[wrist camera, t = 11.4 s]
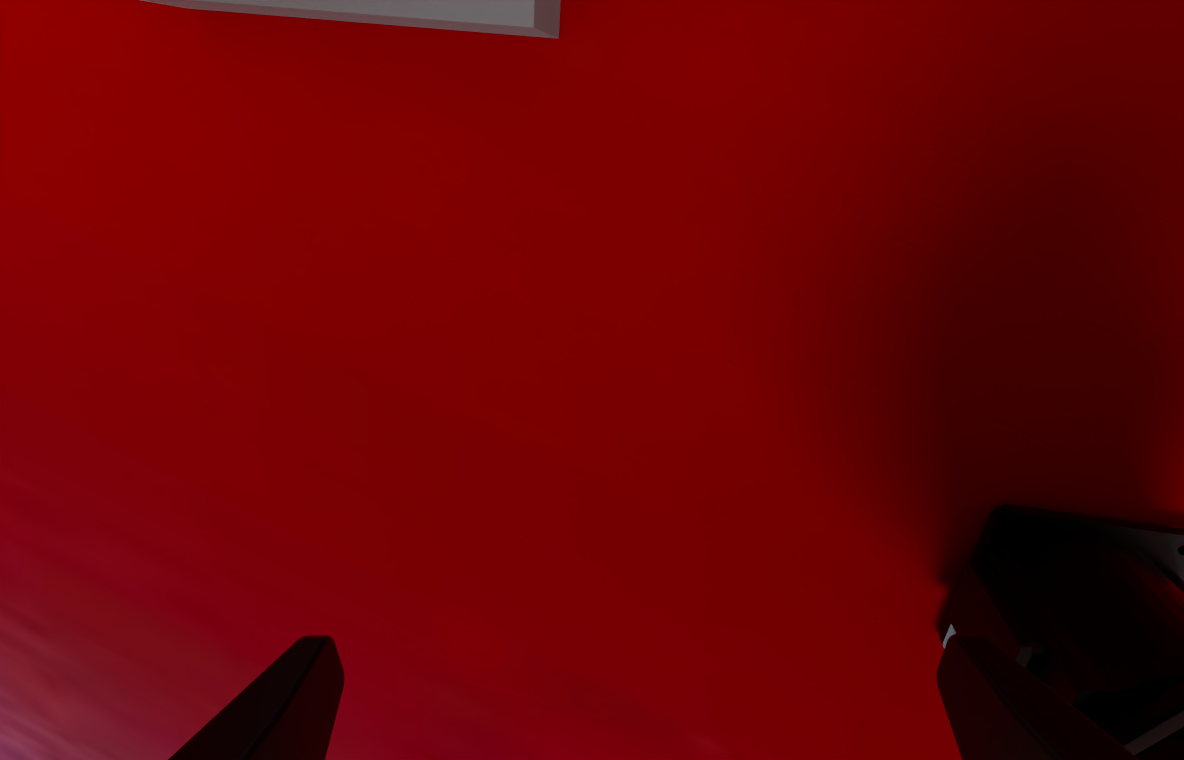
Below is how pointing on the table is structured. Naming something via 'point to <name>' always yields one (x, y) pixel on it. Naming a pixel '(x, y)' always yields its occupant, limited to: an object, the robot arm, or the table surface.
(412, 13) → the jig
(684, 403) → the table surface
